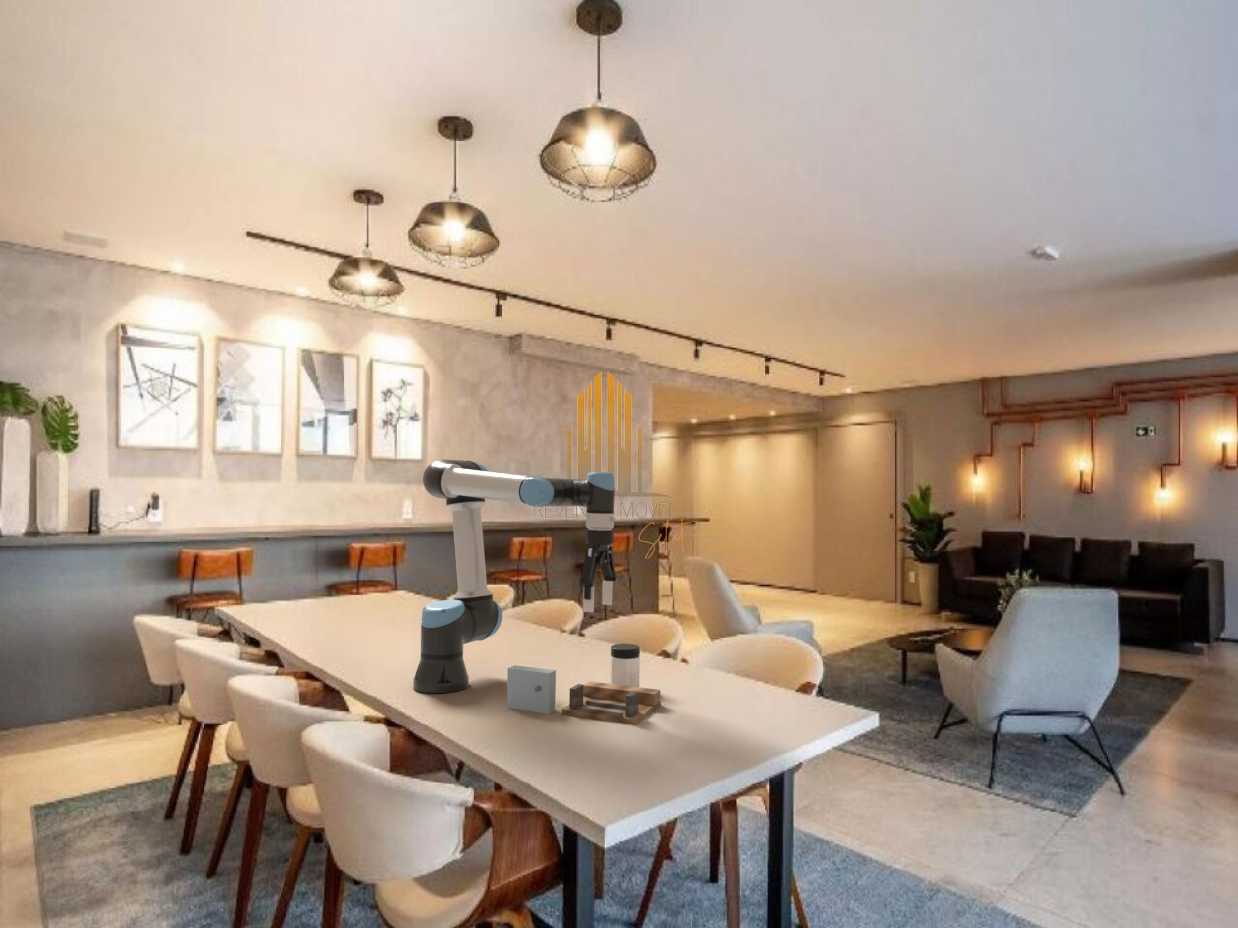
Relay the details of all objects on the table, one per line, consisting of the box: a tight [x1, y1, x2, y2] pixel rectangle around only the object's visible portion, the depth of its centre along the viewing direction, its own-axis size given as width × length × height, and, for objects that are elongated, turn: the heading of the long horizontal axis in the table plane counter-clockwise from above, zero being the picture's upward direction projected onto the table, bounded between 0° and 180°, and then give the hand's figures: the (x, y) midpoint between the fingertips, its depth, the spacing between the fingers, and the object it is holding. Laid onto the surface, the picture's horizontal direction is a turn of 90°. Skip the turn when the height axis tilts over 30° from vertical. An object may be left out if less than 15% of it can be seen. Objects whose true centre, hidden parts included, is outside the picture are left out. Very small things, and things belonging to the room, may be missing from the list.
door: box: [506, 665, 557, 715], centre depth 182 cm, size 12×4×10 cm, turn 68°
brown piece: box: [560, 681, 662, 726], centre depth 183 cm, size 20×18×6 cm
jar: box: [609, 643, 641, 687], centre depth 202 cm, size 9×8×12 cm
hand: (598, 608), depth 194 cm, fingers open, 13 cm apart
